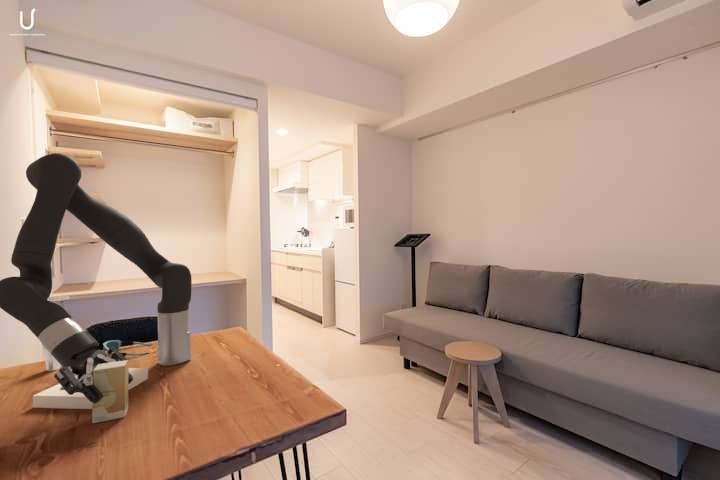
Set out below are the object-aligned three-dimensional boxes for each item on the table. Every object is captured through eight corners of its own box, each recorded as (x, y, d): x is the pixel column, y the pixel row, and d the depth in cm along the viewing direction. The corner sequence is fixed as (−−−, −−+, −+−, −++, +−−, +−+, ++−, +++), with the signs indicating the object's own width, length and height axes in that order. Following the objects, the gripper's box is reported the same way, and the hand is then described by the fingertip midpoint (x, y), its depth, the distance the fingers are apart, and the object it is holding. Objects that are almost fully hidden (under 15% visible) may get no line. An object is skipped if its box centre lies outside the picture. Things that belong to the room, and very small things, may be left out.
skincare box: (91, 424, 72) (90, 370, 72) (96, 415, 76) (95, 363, 76) (126, 417, 75) (125, 365, 75) (129, 408, 79) (128, 358, 79)
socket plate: (94, 377, 96) (94, 366, 96) (147, 378, 95) (147, 367, 95) (33, 407, 80) (32, 394, 80) (97, 409, 78) (97, 395, 78)
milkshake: (52, 372, 100) (52, 341, 100) (39, 371, 101) (38, 340, 101) (68, 367, 105) (68, 336, 105) (55, 366, 106) (55, 335, 106)
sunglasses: (106, 350, 120) (108, 337, 121) (152, 349, 127) (154, 336, 127) (95, 363, 108) (98, 348, 108) (148, 361, 114) (150, 347, 115)
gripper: (48, 340, 68) (99, 394, 68) (105, 322, 83) (148, 367, 82) (25, 364, 69) (76, 419, 68) (86, 342, 83) (129, 387, 82)
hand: (115, 390), depth 75 cm, fingers open, 8 cm apart
